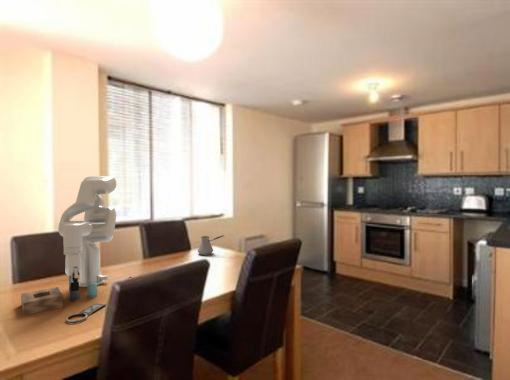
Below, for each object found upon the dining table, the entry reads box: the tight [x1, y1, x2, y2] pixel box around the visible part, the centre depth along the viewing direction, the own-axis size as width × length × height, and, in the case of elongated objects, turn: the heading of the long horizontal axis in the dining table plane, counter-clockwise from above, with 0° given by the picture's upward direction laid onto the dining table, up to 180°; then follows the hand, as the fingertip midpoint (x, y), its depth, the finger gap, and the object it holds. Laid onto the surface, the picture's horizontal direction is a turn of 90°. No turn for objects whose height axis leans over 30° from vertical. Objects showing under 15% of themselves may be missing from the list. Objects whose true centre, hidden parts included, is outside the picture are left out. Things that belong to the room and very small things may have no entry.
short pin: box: [87, 282, 98, 298], centre depth 155 cm, size 4×4×6 cm
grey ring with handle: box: [65, 303, 107, 325], centre depth 135 cm, size 8×19×2 cm, turn 168°
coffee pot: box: [197, 234, 226, 256], centre depth 239 cm, size 21×12×15 cm, turn 71°
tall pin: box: [68, 274, 80, 302], centre depth 151 cm, size 4×4×13 cm
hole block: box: [20, 287, 64, 316], centre depth 143 cm, size 14×14×5 cm
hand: (73, 289), depth 151 cm, fingers closed on tall pin, 4 cm apart
